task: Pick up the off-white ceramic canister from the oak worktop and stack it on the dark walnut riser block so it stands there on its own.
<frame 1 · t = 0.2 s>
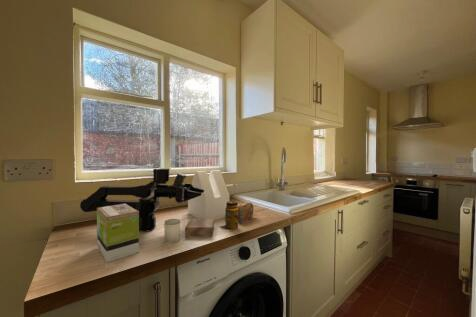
hand: (202, 192, 94), 17 cm above the worktop, tool horizontal, fingers open, 9 cm apart
condiment: (229, 228, 95), on the worktop
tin: (244, 220, 108), on the worktop
canister: (172, 240, 81), on the worktop
tea box: (117, 250, 72), on the worktop
white plastic jug: (208, 215, 117), on the worktop
riser: (200, 232, 90), on the worktop
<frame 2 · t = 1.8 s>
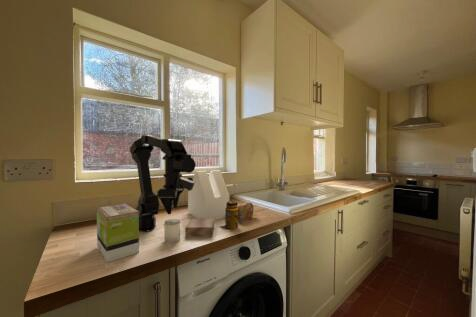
hand: (172, 210, 81), 12 cm above the worktop, tool pointing down, fingers open, 9 cm apart
nothing on the worktop moved.
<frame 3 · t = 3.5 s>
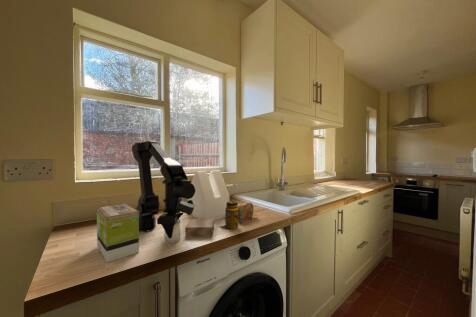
hand: (172, 234, 81), 2 cm above the worktop, tool pointing down, fingers closed on canister, 6 cm apart
canister: (172, 239, 81), on the worktop, touching gripper
everything else where it was.
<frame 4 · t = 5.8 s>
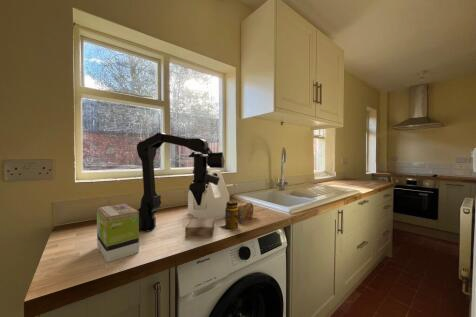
hand: (200, 203, 89), 13 cm above the worktop, tool pointing down, fingers closed on canister, 6 cm apart
canister: (200, 208, 89), point 11 cm above the worktop, touching gripper
everything else where it was.
when the fingers open (7 cm above the worktop, at t = 8.0 s): canister stays where it is, resting on riser.
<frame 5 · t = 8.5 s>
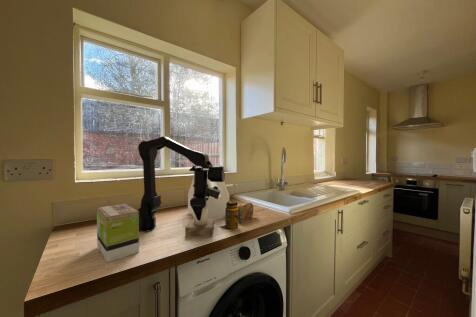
hand: (200, 217, 90), 7 cm above the worktop, tool pointing down, fingers open, 9 cm apart
canister: (200, 223, 90), point 4 cm above the worktop, touching riser
everything else where it was.
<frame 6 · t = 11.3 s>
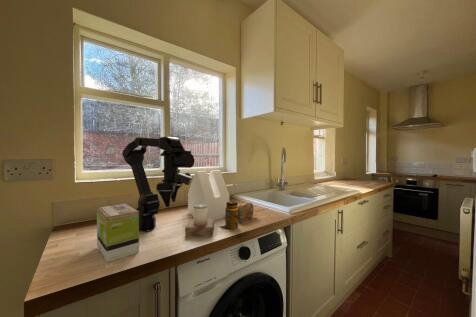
hand: (170, 204, 86), 13 cm above the worktop, tool pointing down, fingers open, 9 cm apart
nothing on the worktop moved.
at the end: canister inside the target area on the riser (0.0 cm from its centre), point 4.0 cm above the riser's base; canister tilted 0°; the gripper is holding nothing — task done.
